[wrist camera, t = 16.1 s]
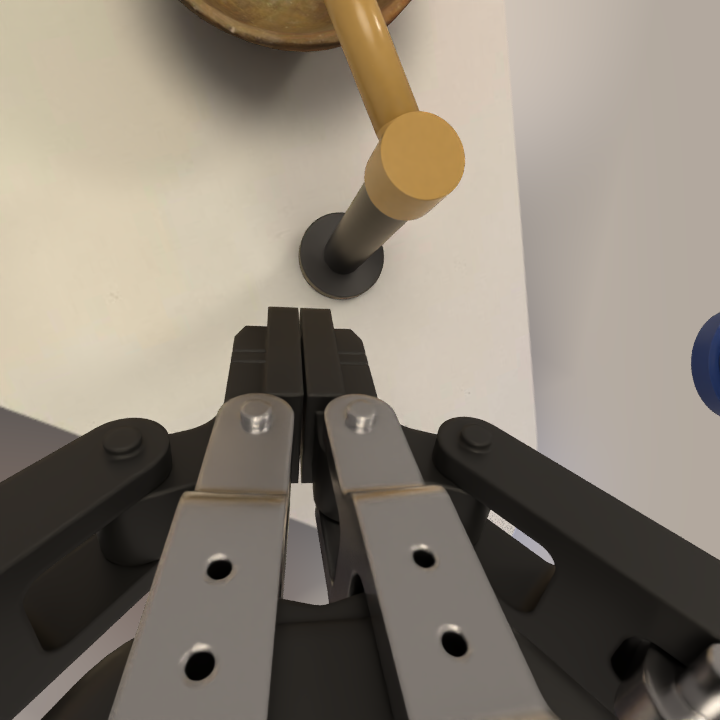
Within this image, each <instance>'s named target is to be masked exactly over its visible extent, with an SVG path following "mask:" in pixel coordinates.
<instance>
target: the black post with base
mask: <svg viewBox="0 0 720 720" xmlns="http://www.w3.org/2000/svg"><path fill="white" fill-rule="evenodd" d="M406 222H407V221H403V220H397V219H393V218H391V217H389V216H387V215H385V214H384V213H382V212H381V211H380V210H379V209H378V208H377V207H376V206H375V205H374V204H373V203H372V201H371V199H370V198H369V195H368V193H367V190H366V187H365V182H364V184H363V185H362V187H361V188H360V190H359V192H358V193H357V195H356V197H355V198H354V200H353V201H352V203H351V205H350V206H349V208H348V210H347V211H346V213H331V214H328V215H325V216H322V217H320V218H319V219H317V220H316V221H315V222H313V223H312V224H311V225H310V226H309V228H308V229H307V231H306V232H305V234H304V236H303V238H302V241H301V244H300V248H299V264H300V268H301V271H302V273H303V275H304V277H305V279H306V280H307V282H308V283H309V284H310V285H311V287H313V288H314V289H315V290H316V291H317V292H319V293H320V294H322V295H324V296H327V297H330V298H334V299H350V298H354V297H357V296H359V295H361V294H362V293H364V292H365V291H367V290H368V289H369V288H371V287H372V286H373V285H374V283H375V282H376V281H377V279H378V278H379V276H380V274H381V271H382V268H383V262H384V253H383V247H382V245H383V244H384V243H385V242H386V241H387V240H388V239H389V238H390V237H391V236H392V235H393V234H394V233H395V232H396V231H397V230H398V229H399V228H401V227H402V226H403V225H404V224H405V223H406Z"/></svg>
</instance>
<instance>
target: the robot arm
mask: <svg viewBox="0 0 720 720" xmlns="http://www.w3.org/2000/svg"><path fill="white" fill-rule="evenodd" d="M719 368H720V358H719ZM299 461H300V463H301V483H313V495H314V501H315V504H316V508H315V517H316V523H317V529H318V535H319V542H320V548H321V554H322V560H323V566H324V572H325V578H326V584H327V590H328V599H329V604H326V605H312V604H306V603H301V602H296V601H290V600H285V599H283V591H284V578H285V565H286V552H287V539H288V526H289V512H290V491H291V483H298V477H299ZM490 510H492V511H494V512H495V513H496V514H498V515H499V516H501V517H502V518H503V519H505V520H506V521H508V522H509V523H510V524H512V525H513V526H515V527H516V528H517V529H519V530H520V531H522V532H523V533H525V534H526V535H527V536H529V537H530V538H532V539H533V540H534V541H536V542H537V543H539V544H540V545H541V546H543V547H544V548H545V549H546V550H547V551H548V553H549V554H550V555H551V557H552V558H553V560H554V563H555V565H552V564H550V563H548V562H546V561H545V560H543V559H542V558H541V557H539V556H538V555H536V554H535V553H534V552H532V551H531V550H529V549H528V548H527V547H525V546H524V545H523V544H521V543H520V542H519V541H517V540H516V539H514V538H513V537H512V536H510V535H509V534H508V533H506V532H505V531H503V530H502V529H501V528H499V527H498V526H497V525H495V524H494V523H492V522H491V521H490V520H488V519H487V517H488V515H489V512H490ZM149 591H150V592H149ZM148 592H149V595H148V598H147V601H146V604H145V607H144V610H143V613H142V616H141V620H140V623H139V626H138V629H137V632H136V635H135V638H133V639H131V640H130V641H128V642H126V643H125V644H123V645H122V646H120V647H119V648H117V649H116V650H114V651H113V652H112V653H110V654H109V655H107V656H106V657H105V658H104V659H103V660H101V661H100V662H99V663H98V664H97V665H95V666H94V667H93V668H92V669H91V670H89V671H88V672H87V673H86V674H85V675H84V676H83V677H82V678H81V679H80V680H79V681H78V682H77V683H76V684H75V685H74V686H73V687H72V688H71V689H70V690H69V691H68V692H67V693H66V694H65V695H64V696H63V697H62V698H61V699H60V700H59V701H58V702H57V704H56V705H55V706H54V707H53V708H52V709H51V710H50V711H49V712H48V713H47V714H46V715H45V716H44V717H43V718H42V719H41V720H720V560H718V559H716V558H715V557H713V556H711V555H710V554H708V553H706V552H705V551H703V550H701V549H700V548H698V547H696V546H695V545H693V544H692V543H690V542H688V541H687V540H685V539H683V538H682V537H680V536H678V535H677V534H675V533H673V532H671V531H670V530H668V529H666V528H665V527H663V526H661V525H659V524H658V523H656V522H655V521H653V520H651V519H650V518H648V517H646V516H644V515H643V514H641V513H640V512H638V511H636V510H635V509H633V508H631V507H629V506H628V505H626V504H625V503H623V502H621V501H620V500H618V499H616V498H615V497H613V496H611V495H610V494H608V493H606V492H604V491H603V490H601V489H599V488H598V487H596V486H594V485H593V484H591V483H589V482H588V481H586V480H584V479H583V478H581V477H579V476H578V475H576V474H574V473H573V472H571V471H569V470H567V469H566V468H564V467H563V466H561V465H559V464H558V463H556V462H554V461H552V460H551V459H549V458H548V457H546V456H544V455H542V454H541V453H539V452H538V451H536V450H534V449H532V448H531V447H529V446H527V445H526V444H524V443H522V442H521V441H519V440H517V439H516V438H514V437H512V436H511V435H509V434H507V433H506V432H504V431H502V430H501V429H499V428H497V427H496V426H494V425H492V424H490V423H488V422H486V421H483V420H480V419H477V418H471V417H456V418H452V419H449V420H447V421H445V422H444V423H443V424H442V425H441V426H440V427H439V430H438V434H437V435H436V434H432V433H428V432H423V431H419V430H415V429H411V428H408V427H405V426H402V425H400V423H399V421H398V419H397V416H396V414H395V412H394V410H393V409H392V408H391V407H390V406H389V405H388V404H387V403H385V402H384V401H382V400H380V399H378V398H377V394H376V390H375V387H374V383H373V379H372V376H371V372H370V368H369V366H368V361H367V357H366V355H365V350H364V346H363V342H362V340H361V339H360V338H359V337H358V336H357V335H356V334H355V333H354V332H353V331H352V330H351V329H334V327H333V321H332V316H331V311H330V309H314V308H300V320H299V312H298V308H291V307H268V323H267V326H245V327H244V328H243V329H242V330H241V331H240V332H239V333H238V334H237V335H236V336H235V338H234V344H233V352H232V357H231V363H230V369H229V375H228V382H227V388H226V394H225V400H224V404H223V405H222V406H221V408H220V409H219V411H218V413H217V416H215V417H214V418H213V419H212V420H210V421H209V422H207V423H205V424H203V425H201V426H199V427H196V428H194V429H190V430H186V431H182V432H177V433H173V434H168V432H167V430H166V429H165V428H164V427H163V426H162V425H160V424H159V423H157V422H155V421H152V420H148V419H143V418H125V419H119V420H115V421H111V422H108V423H106V424H103V425H101V426H99V427H97V428H95V429H93V430H92V431H90V432H88V433H86V434H85V435H83V436H81V437H79V438H78V439H76V440H74V441H72V442H71V443H69V444H67V445H65V446H64V447H62V448H60V449H58V450H57V451H55V452H53V453H52V454H49V455H48V456H46V457H44V458H42V459H41V460H39V461H38V462H35V463H34V464H32V465H30V466H28V467H27V468H25V469H23V470H22V471H20V472H18V473H16V474H14V475H13V476H11V477H9V478H7V479H6V480H4V481H2V482H1V483H0V720H12V719H13V718H14V717H15V716H16V715H17V714H18V713H19V712H20V711H21V710H23V709H24V708H25V707H26V706H27V705H28V704H29V703H30V702H31V701H32V700H33V699H34V698H35V697H37V696H38V695H39V694H40V693H41V692H42V691H43V690H44V689H45V688H46V687H47V686H48V685H49V684H50V683H51V682H53V680H55V679H56V678H57V677H58V676H59V675H60V674H61V673H62V672H63V671H64V670H65V669H66V668H67V667H68V666H69V665H71V664H72V663H73V662H74V661H75V660H76V659H77V658H78V657H79V656H80V655H81V654H82V653H83V652H85V650H87V649H88V648H89V647H90V646H91V645H92V644H93V643H94V642H95V641H96V640H97V639H98V638H99V637H101V636H102V635H103V634H104V633H105V632H106V631H107V630H108V629H109V628H110V627H111V626H112V625H113V624H114V623H115V622H117V620H119V619H120V618H121V617H122V616H123V615H124V614H125V613H126V612H127V611H128V610H129V609H130V608H132V606H134V605H135V604H136V603H137V602H138V601H139V600H140V599H141V598H142V597H143V596H144V595H145V594H146V593H148Z"/></svg>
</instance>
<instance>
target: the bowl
mask: <svg viewBox="0 0 720 720" xmlns="http://www.w3.org/2000/svg"><path fill="white" fill-rule="evenodd" d="M179 1H180V2H181V3H183V4H184V5H185V6H186V7H187V8H188V9H189V10H191V11H192V12H193V13H194V14H196V15H197V16H198V17H200V18H201V19H203V20H204V21H206V22H208V23H210V24H211V25H213V26H215V27H217V28H218V29H220V30H222V31H224V32H226V33H229V34H231V35H233V36H236V37H238V38H241V39H243V40H245V41H248V42H251V43H254V44H257V45H261V46H265V47H269V48H273V49H277V50H284V51H302V52H309V51H321V50H328V49H333V48H336V47H339V46H341V44H340V42H339V39H338V37H337V34H336V32H335V29H334V26H333V24H332V21H331V19H330V16H329V14H328V11H327V9H326V6H325V4H324V1H323V0H179ZM410 1H411V0H377V3H378V6H379V8H380V11H381V13H382V16H383V18H384V21H385V24H386V26H388V25H389V24H390V23H391V22H392V21H393V20H394V19H395V18H396V17H397V16H398V15H399V14H400V13H401V12H402V10H403V9H404V8H405V7H406V6H407V5H408V4H409V2H410Z"/></svg>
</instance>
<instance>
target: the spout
mask: <svg viewBox="0 0 720 720" xmlns="http://www.w3.org/2000/svg"><path fill="white" fill-rule="evenodd" d="M323 1H324V4H325V6H326V9H327V11H328V14H329V16H330V19H331V21H332V24H333V26H334V29H335V32H336V34H337V37H338V39H339V42H340V44H341V47H342V49H343V52H344V54H345V57H346V59H347V62H348V64H349V67H350V69H351V72H352V75H353V77H354V80H355V82H356V85H357V87H358V90H359V92H360V95H361V97H362V100H363V102H364V105H365V107H366V110H367V112H368V115H369V118H370V120H371V123H372V125H373V128H374V130H375V133H376V135H377V137H378V139H379V142H378V144H377V146H376V148H375V149H374V151H373V153H372V155H371V156H370V158H369V160H368V162H367V165H366V168H365V176H364V179H365V187H366V190H367V193H368V195H369V198H370V199H371V201H372V203H373V204H374V205H375V206H376V207H377V208H378V209H379V210H380V211H381V212H382V213H384V214H385V215H387V216H389V217H391V218H393V219H397V220H403V221H408V220H414V219H418V218H420V217H422V216H424V215H425V214H427V213H428V212H429V211H430V210H431V209H432V208H434V207H435V206H436V205H437V204H438V203H439V202H440V201H441V200H443V199H444V198H445V197H446V196H447V195H448V194H449V193H450V192H452V191H453V190H454V189H455V187H456V186H457V185H458V183H459V182H460V180H461V178H462V175H463V172H464V166H465V154H464V149H463V146H462V143H461V140H460V138H459V136H458V135H457V133H456V132H455V130H454V129H453V128H452V127H451V126H450V125H449V124H448V123H447V122H446V121H445V120H443V119H442V118H440V117H438V116H436V115H434V114H431V113H428V112H422V111H419V109H418V106H417V104H416V101H415V98H414V96H413V93H412V91H411V88H410V85H409V83H408V80H407V78H406V75H405V73H404V70H403V67H402V65H401V62H400V60H399V57H398V55H397V52H396V49H395V47H394V44H393V42H392V39H391V36H390V34H389V31H388V29H387V26H386V24H385V21H384V18H383V16H382V13H381V11H380V8H379V6H378V3H377V0H323Z"/></svg>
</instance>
